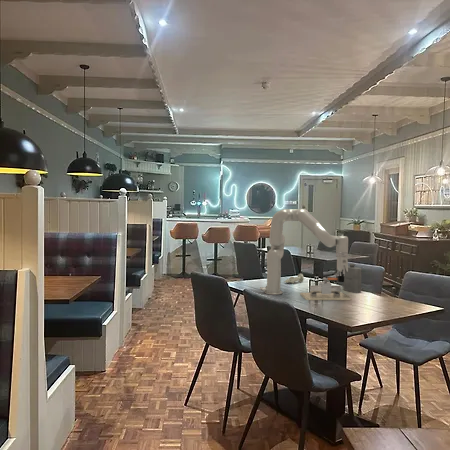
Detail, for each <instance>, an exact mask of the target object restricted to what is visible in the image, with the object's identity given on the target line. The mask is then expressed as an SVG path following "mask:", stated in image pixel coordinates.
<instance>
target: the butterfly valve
mask: <svg viewBox="0 0 450 450" xmlns="http://www.w3.org/2000/svg"><path fill="white" fill-rule="evenodd" d="M295 261H296V265H297V268H298V272H299V273H298V274H297V276H290V277H289V278H287V279H285V280H283V282H284V283H286V284H287V283H288V284H295V282H297V281H298V282H299V283H303V282H304V280H305V278H304V274H303V273H302V269H301V265H300V261H299V258H298V257H295Z"/></svg>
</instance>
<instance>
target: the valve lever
mask: <svg viewBox="0 0 450 450" xmlns="http://www.w3.org/2000/svg"><path fill="white" fill-rule="evenodd" d="M322 280H323V281H324V280H327V281H335V282H337V283H340V282H339V275H336V277H323V278H322Z"/></svg>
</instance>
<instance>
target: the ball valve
mask: <svg viewBox="0 0 450 450" xmlns="http://www.w3.org/2000/svg"><path fill="white" fill-rule="evenodd" d="M318 284H319V285H310V286H309V292H300V293H299V294H300V296H301V297H302V298H303V299H304V300H305V301H351V300H352V297H350V296H349V295H347V294H345V293H344V292H342V287H341V285H332V283H331V282H330V281H328V280H323V281H319V282H318Z"/></svg>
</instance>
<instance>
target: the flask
mask: <svg viewBox="0 0 450 450" xmlns="http://www.w3.org/2000/svg"><path fill="white" fill-rule="evenodd" d="M362 271H363V269H362V268H361V267H357V266H355V263H349V265H348V272H345V276H344V282H342V283H343V284H342V285H343V286H342V288H343V291H346V292H348V293H349V292H351V293H355V294H360V293H362Z"/></svg>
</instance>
